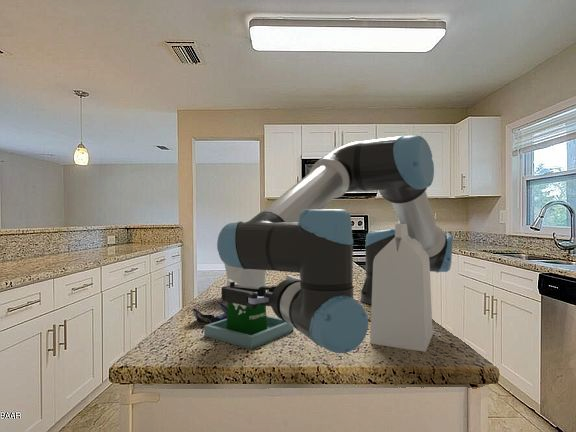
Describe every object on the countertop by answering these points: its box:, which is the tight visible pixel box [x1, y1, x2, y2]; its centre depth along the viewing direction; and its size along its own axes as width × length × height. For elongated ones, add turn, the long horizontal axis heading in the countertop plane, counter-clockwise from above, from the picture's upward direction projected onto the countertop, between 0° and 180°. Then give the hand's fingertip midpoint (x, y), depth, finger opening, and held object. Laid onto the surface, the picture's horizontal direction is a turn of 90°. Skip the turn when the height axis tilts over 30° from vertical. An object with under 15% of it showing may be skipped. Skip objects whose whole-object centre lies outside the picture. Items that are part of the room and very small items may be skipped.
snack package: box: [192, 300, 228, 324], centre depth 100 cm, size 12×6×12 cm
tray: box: [203, 315, 295, 350], centre depth 90 cm, size 15×15×2 cm
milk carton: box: [224, 263, 268, 335], centre depth 90 cm, size 9×9×20 cm
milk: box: [369, 223, 434, 353], centre depth 85 cm, size 12×12×26 cm
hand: (259, 283), depth 83 cm, fingers open, 13 cm apart
